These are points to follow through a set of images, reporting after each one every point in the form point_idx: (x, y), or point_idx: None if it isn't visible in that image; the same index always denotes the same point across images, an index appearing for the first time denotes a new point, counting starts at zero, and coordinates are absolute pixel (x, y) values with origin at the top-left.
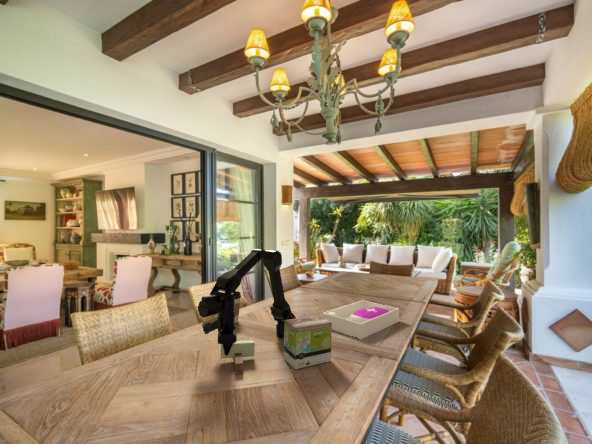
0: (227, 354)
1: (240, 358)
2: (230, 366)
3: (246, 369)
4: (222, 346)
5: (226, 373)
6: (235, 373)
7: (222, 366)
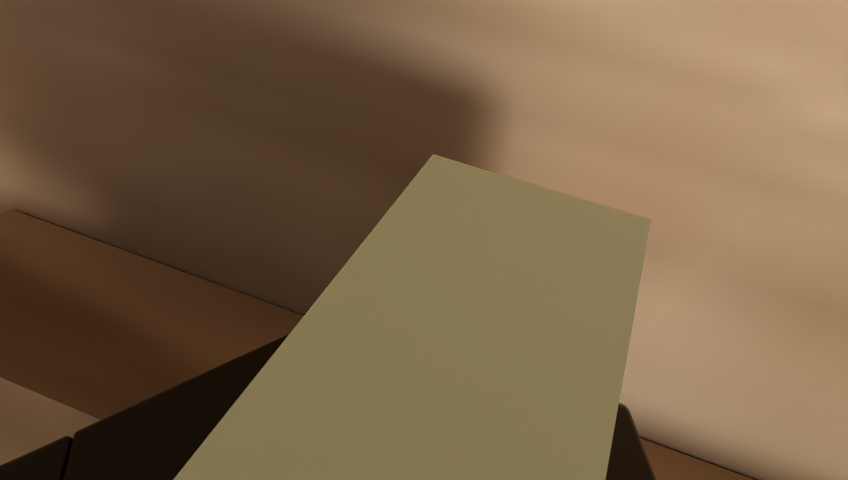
0: None
1: None
2: (290, 242)
3: None
4: (227, 459)
5: (54, 89)
6: (4, 216)
7: (340, 104)
